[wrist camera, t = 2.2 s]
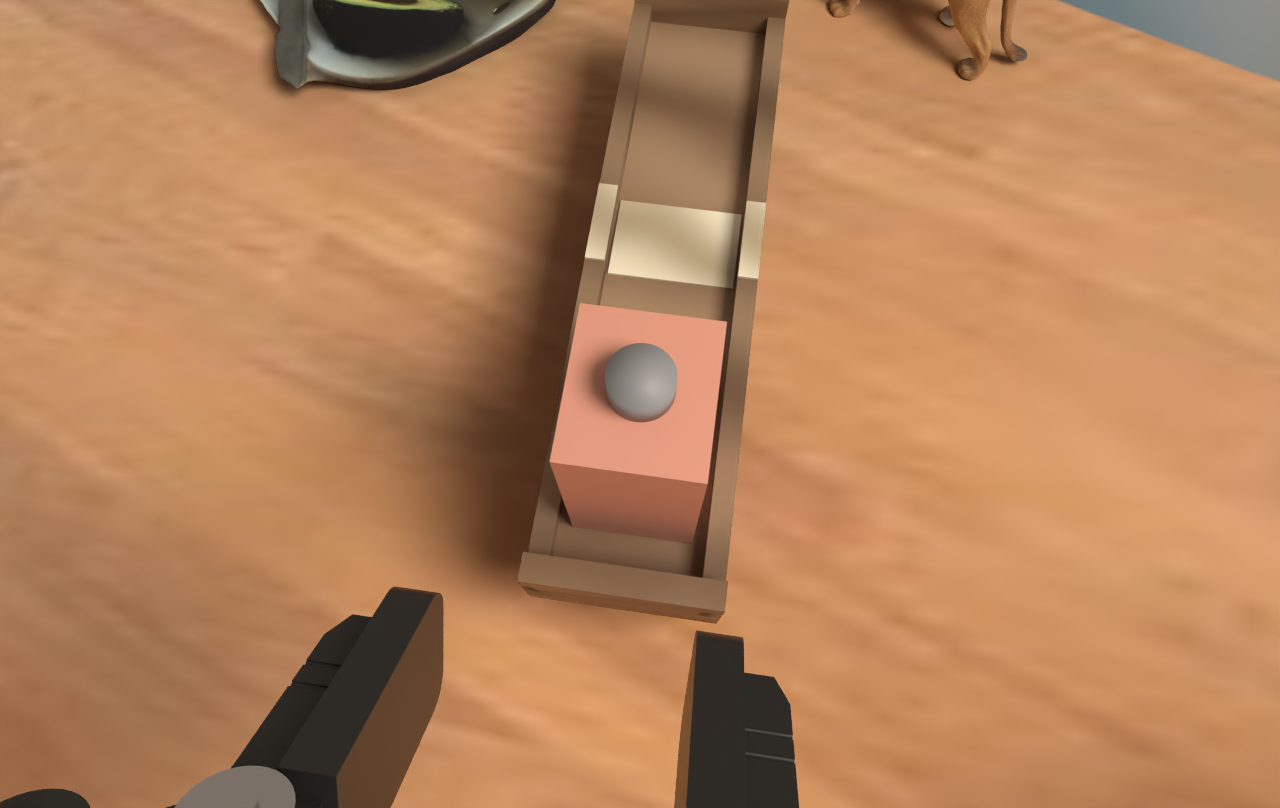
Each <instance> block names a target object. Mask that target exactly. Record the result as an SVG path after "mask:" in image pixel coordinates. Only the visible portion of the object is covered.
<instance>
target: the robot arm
mask: <svg viewBox="0 0 1280 808" xmlns="http://www.w3.org/2000/svg"><path fill="white" fill-rule="evenodd" d="M442 677H443V598H442V595H441V594H440V593H435V592H428V591H422V590H415V589H408V588H401V587H392V588H391V589H390V590H389V592H388V593H387V594H386V596H385V598H384V599H383V601H382V602H381V604H380V606H379V607H378V609H377V610H376V612H375V613H374V615H373V617H366V616H360V615H353V614H352V615H351V616H350V617H348V618H347V619H345V620H344V621H343V622H341V623H340V624H338V625H337V626H335V627H334V628H333V629H331V630H330V631H328V632H327V633H326V634H324V635H323V637H322V638H321V640H320V641H319V643H318V644H317V646H316V647H315V648H314V650H313V651H312V653H311V654H310V656H309V657H308V658H307V661H306V664H305V665H303V666H302V667H301V669H300V670H299V671H298V673H297V674H296V676H295V677H294V679H293V680H292V684H291V686H288V687H287V689H286V690H285V692H284V693H283V694H282V696H281V697H280V699H279V700H278V702H277V703H276V704H275V706H274V707H273V709H272V710H271V712H270V713H269V715H268V716H267V717H266V719H265V720H264V722H263V723H262V725H261V726H260V727H259V729H258V730H257V732H256V733H255V735H254V736H253V738H252V739H251V740H250V742H249V743H248V745H247V746H246V748H245V749H244V750H243V752H242V753H241V755H240V756H239V758H238V759H237V761H236V762H235V763H234V765H233V766H232V767H231V768H230V769H227V770H224V771H222V772H219V773H216V774H214V775H212V776H210V777H208V778H206V779H205V780H203V781H201V782H200V783H198V784H197V785H195V786H194V787H193V788H192V789H191V790H189V791H188V792H187V793H186V794H185V795H184V796H183V797H182V798H181V799H180V801H179V802H178V803H177V804H176V805H173V806H170V807H166V808H391V805H392V803H393V801H394V799H395V797H396V794H397V792H398V790H399V788H400V785H401V783H402V781H403V779H404V777H405V774H406V772H407V770H408V768H409V766H410V763H411V761H412V759H413V757H414V754H415V752H416V750H417V748H418V746H419V743H420V741H421V739H422V737H423V734H424V732H425V730H426V728H427V726H428V723H429V721H430V719H431V717H432V714H433V712H434V710H435V707H436V704H437V701H438V697H439V694H440V689H441V684H442ZM792 735H793V732H792V720H791V708H790V703H789V702H788V700H787V698H786V697H785V695H784V693H783V691H782V690H781V688H780V686H779V685H778V683H777V681H776V680H775V678H774V677H770V676H763V675H756V674H750V673H744V642H743V638H742V637H737V636H730V635H723V634H716V633H710V632H703V631H696V634H695V639H694V645H693V651H692V658H691V664H690V670H689V677H688V683H687V689H686V695H685V702H684V708H683V716H682V724H681V732H680V742H679V753H678V766H677V779H676V792H675V804H674V808H799V802H798V790H797V778H796V767H795V764H794V760H795V755H794V743H793V740H792ZM0 808H90V805H89V804H88V802H87V801H86V800H85V799H84V798H83V797H82V796H81V795H79V794H77V793H75V792H72V791H68V790H64V789H41V790H36V791H30V792H27V793H23V794H20V795H17V796H14V797H12V798H9V799H7V800H4V801H2V802H0Z"/></svg>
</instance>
